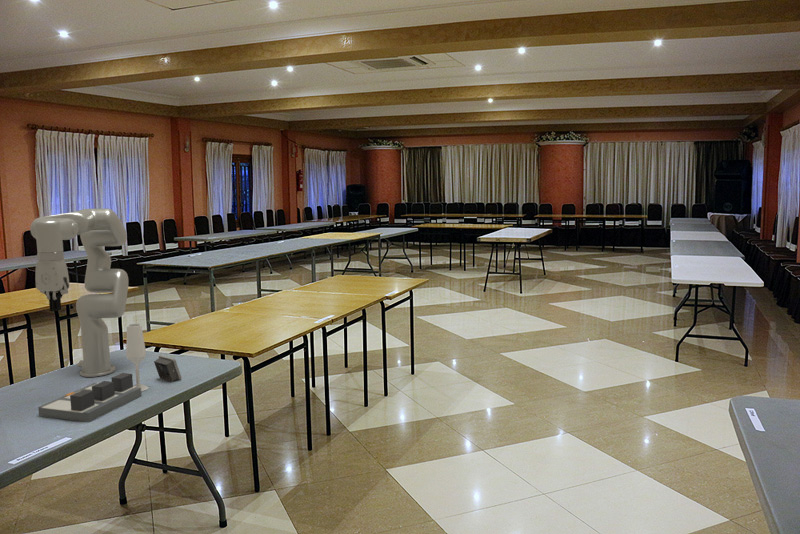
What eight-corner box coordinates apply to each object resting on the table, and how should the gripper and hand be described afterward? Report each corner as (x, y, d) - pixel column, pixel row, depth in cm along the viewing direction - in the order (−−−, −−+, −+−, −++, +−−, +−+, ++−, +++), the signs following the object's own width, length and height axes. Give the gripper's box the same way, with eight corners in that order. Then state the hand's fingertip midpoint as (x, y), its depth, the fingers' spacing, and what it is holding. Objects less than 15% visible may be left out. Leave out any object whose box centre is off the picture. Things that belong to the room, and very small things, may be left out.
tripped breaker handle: (92, 399, 199) (91, 386, 198) (105, 393, 204) (104, 380, 203) (102, 400, 198) (101, 387, 197) (114, 394, 203) (113, 381, 202)
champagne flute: (129, 393, 214) (124, 328, 211) (128, 387, 220) (123, 324, 217) (149, 390, 217) (145, 326, 214) (147, 384, 223) (143, 322, 220)
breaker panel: (37, 416, 193) (35, 392, 192) (95, 390, 217) (94, 369, 216) (88, 422, 188) (86, 398, 187) (142, 395, 212) (140, 373, 211)
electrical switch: (182, 379, 229) (178, 356, 227) (170, 384, 225) (167, 361, 223) (167, 375, 234) (163, 353, 232) (155, 380, 230) (151, 357, 228)
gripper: (23, 257, 198) (28, 311, 201) (59, 259, 194) (64, 314, 197) (42, 255, 205) (47, 307, 208) (78, 256, 201) (82, 309, 204)
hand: (55, 310), depth 202 cm, fingers closed
